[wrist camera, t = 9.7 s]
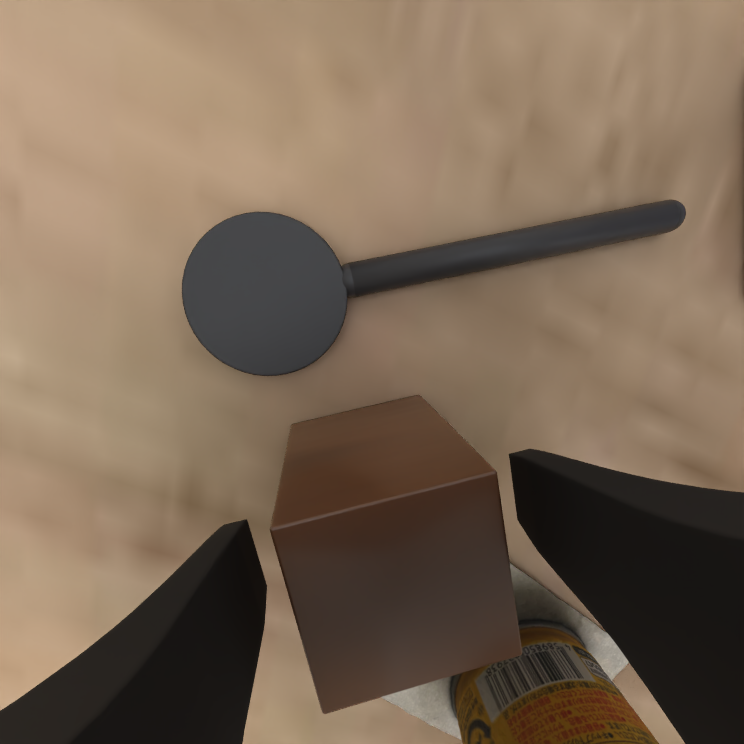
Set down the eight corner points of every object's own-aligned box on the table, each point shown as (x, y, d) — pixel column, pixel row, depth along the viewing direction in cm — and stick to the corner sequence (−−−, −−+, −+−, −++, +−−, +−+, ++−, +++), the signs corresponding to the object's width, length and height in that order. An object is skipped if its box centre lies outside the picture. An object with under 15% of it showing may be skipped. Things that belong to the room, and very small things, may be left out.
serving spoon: (664, 142, 13) (692, 130, 12) (669, 285, 14) (695, 284, 13) (171, 233, 12) (157, 227, 11) (215, 384, 12) (207, 392, 12)
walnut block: (440, 509, 14) (523, 656, 9) (320, 540, 14) (322, 716, 8) (419, 393, 13) (497, 470, 8) (290, 423, 13) (268, 529, 7)
